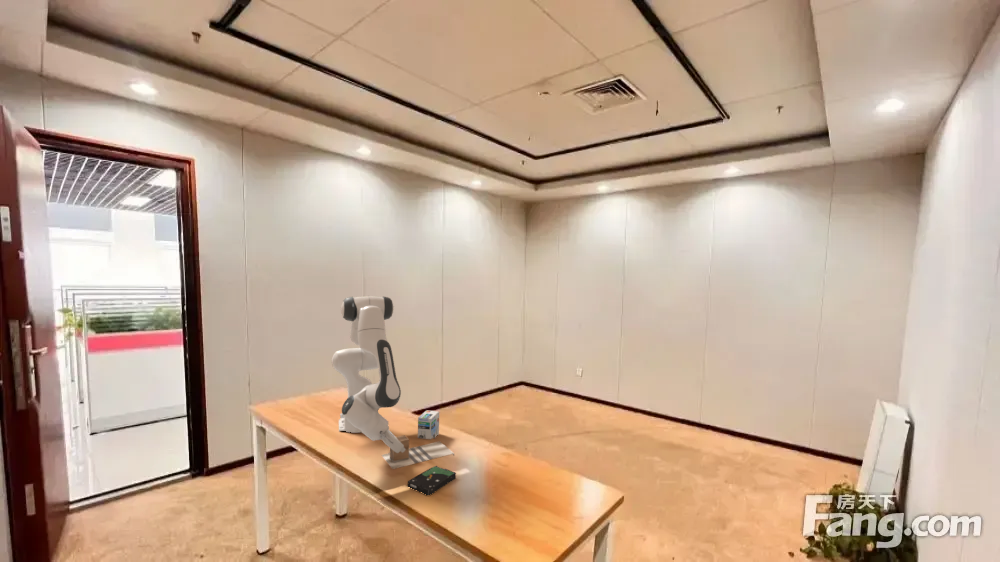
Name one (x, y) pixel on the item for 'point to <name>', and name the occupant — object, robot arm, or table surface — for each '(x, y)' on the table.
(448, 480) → the disk drive
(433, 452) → the board
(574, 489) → the table surface
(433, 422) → the light bulb box
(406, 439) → the block
